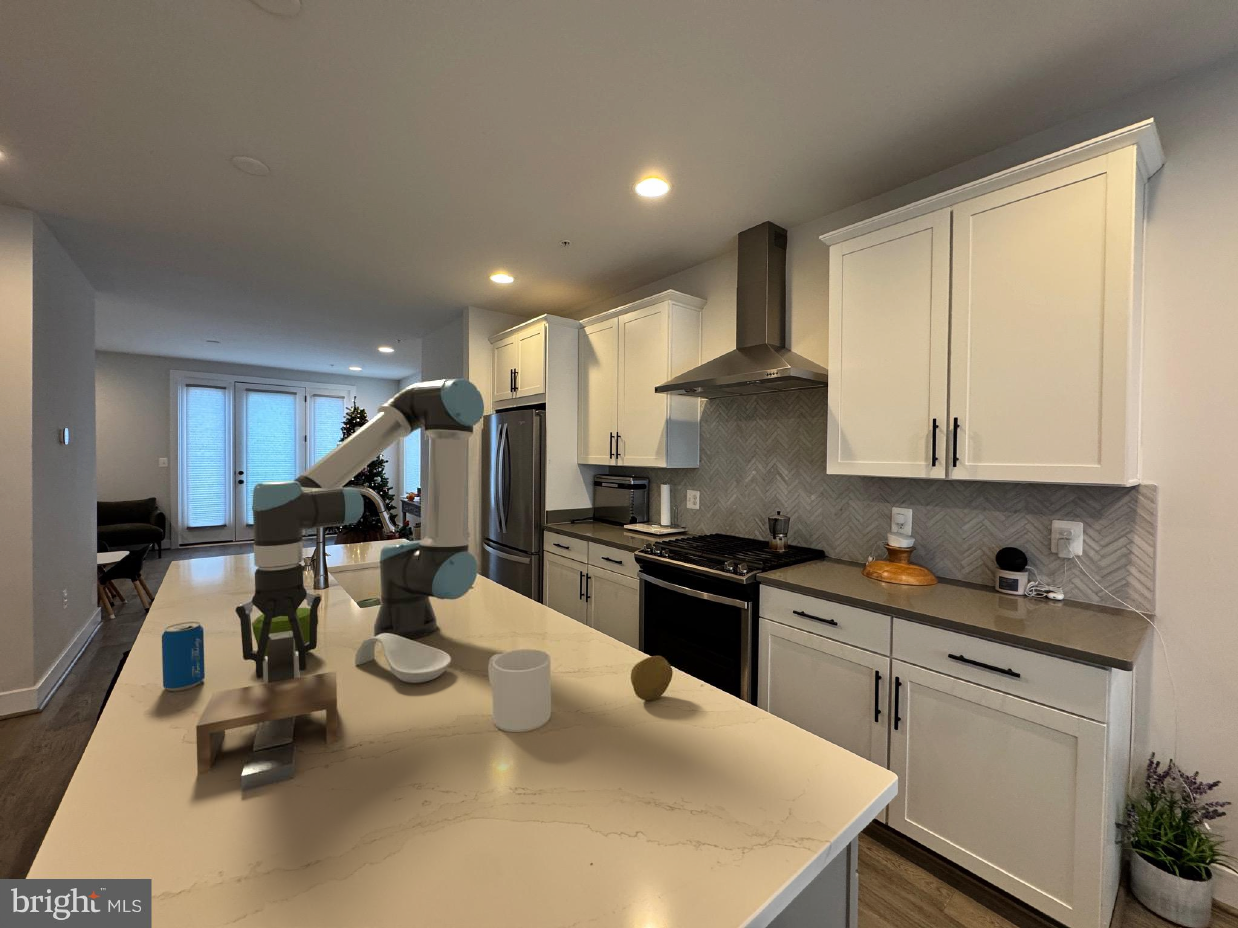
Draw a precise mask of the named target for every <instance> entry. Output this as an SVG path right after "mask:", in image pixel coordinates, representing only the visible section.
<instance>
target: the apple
mask: <svg viewBox="0 0 1238 928" xmlns="http://www.w3.org/2000/svg"><path fill="white" fill-rule="evenodd" d="M297 614H298V619H299V622H300V626H301V630H302V633H303V637H304V640H305V643H307V642H309V630H310V607H298V609H297ZM263 620H264V614H263V613H262V614H260V615H259V616H258V617H257V618H256V619H254V620H253V621H252V622H251V628H252V634H253V636H254V639H255V642H256V645H257V647H256V648H257V649H258V644H259V640H260V635H261V630H262V626H263ZM318 624H319V615H318V613H317V626H318ZM287 631H292V629H291V625H290V622H289V620H288V616H278V617H276V618H272V623H271V627H270V632H269V634H273V633H280V632H287ZM297 651H298V650H297V647H296V643H295V652H297ZM309 652H310V651H308V652H307V653H309ZM266 656H267V646H266V651H265V657H266Z"/></svg>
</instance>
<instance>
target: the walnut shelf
mask: <svg viewBox="0 0 1238 928" xmlns="http://www.w3.org/2000/svg"><path fill="white" fill-rule="evenodd" d="M337 688H338V687H337V670H334V671H329V672H323V673H319V674H318V673H317V674H311V675H307V676H306V675H305V676H300V678H294V679H288V680H283V681H277V682H271V683H266V684H264V683H261V684H254V685H250V686H249V685H248V686H245V687H244V686H243V687H238V688H232V689H227V690H222V691H221V690H220V691H216V692H213V693H211V696H210V698H209V700H208V702H207V704H206V706H205V708H204V710H203V712H202V714H201V715H200V718H199V720H198V721H197V723H196V726H195V729H196V731H195V733H196V735H195V736H196V763H197V765H196V766H197V767H196V769H197V770H196V771H197V772H196V773H197V774H200V773H201V774H202V773H206V772H210V771H211V769H212V767H213V765H214V762H215V759H216V756H217V754H218V752H219V749H220V746H221V744H222V741H223V738H224V736H225V734H226V731H228V730H229V731H230V730H233V729H237V728H242V727H247V726H252V725H259V724H260V723H263V722H268V721H272V720H277V719H282V718H287V717H292V716H297V717H298V716H301V715H306V714H310V713H316V712H319V711H325V722H326V723H325V725H326V734H325V735H326V744H330V743H335V742H337V741H338V697H337V696H338V695H337V694H338V693H337V692H338V691H337Z"/></svg>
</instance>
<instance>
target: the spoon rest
mask: <svg viewBox="0 0 1238 928" xmlns="http://www.w3.org/2000/svg"><path fill="white" fill-rule="evenodd" d="M377 642H379V643H380V644H381V645H382V648H383V652H384V656H385V659H386V662H387V665H388V667H389V669H390V670H391V672H392V673H393V675H395V676H396V678H397V679H399V680H401V681H403V682H406V683H410V684H421V683H425V682H428V681H432V680H434V679H436V678H438V677H439V676H441V675H442V674H443V673H444V672H445V671H446V670H447V668H449V666H450V665H451V663H452V657H451V656H450V654H449V653H447V652H445V651H443V650H441V649H439V648H435V647H432V646H429V645H426V644H423V643H421V642H418V641H414V640H411V639H406V638H403V637H400V636H397V635H394V634H390V633H383V634H380V635H377V636H376V637H375V636H371V637H369V638H366V639H365V640H363V642H362V643H361V644H360V646H359V647H358V648H357V651H356V655H355V657H354V658H355V659H354V664H355V665H356V666H359V665H363V664H366V663H369V662H370V661H372V660H374V659H375V651H376V649H375V648H376V644H377Z"/></svg>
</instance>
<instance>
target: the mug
mask: <svg viewBox="0 0 1238 928" xmlns="http://www.w3.org/2000/svg"><path fill="white" fill-rule="evenodd" d="M551 667H552V666H551V656H550V654H549V653H547V652H546V651H542V650H538V649H533V648H532V649H531V648H525V649H523V648H522V649H521V648H519V649H514V650H509V651H505V652H502V653H496V654H494V655H492V656H491V657H490V659H489V661H488V669H487V671H488V679H489V683H490V687H491V689H492V722H493V724H494V725H495V726H496V728H497V729H500V730H501V731H504V732H508V733H527V732H530V731H531V732H532V731H534V730H538V729H539V728H541V727H542V726H545V725H546V723H548V722H549V720H550V718H551V717H552V703H551V701H552V692H551V691H552V687H551V686H552V685H551V684H552V683H551V677H552V676H551V669H552V668H551Z"/></svg>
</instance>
